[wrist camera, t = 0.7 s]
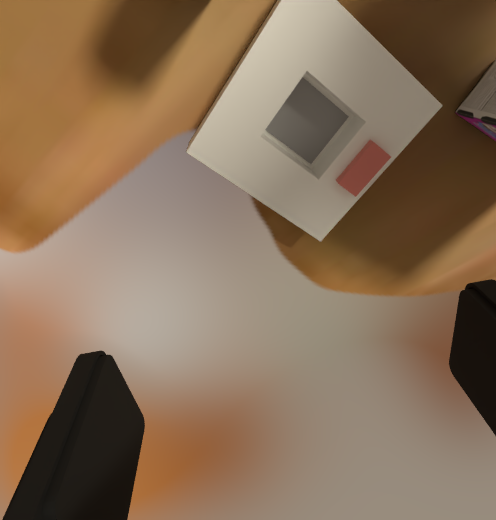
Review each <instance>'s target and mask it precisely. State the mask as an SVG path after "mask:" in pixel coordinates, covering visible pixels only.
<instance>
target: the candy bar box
mask: <svg viewBox="0 0 496 520" xmlns="http://www.w3.org/2000/svg"><path fill="white" fill-rule="evenodd" d="M455 113H456V114H457V115H459V116H460V117H462V118H463V119H464V120H466V121H467V122H469V123H470V124H472V125H473V126H475V127H476V128H477V129H479V130H480V131H482V132H483V133H485V134H486V135H487V136H489V137H490V138H492V139H493V140H495V141H496V60H495V61H494V62H493V63H492V65H491V66H490V67H489V68H488V69H487V71H486V72H485V73H484V75H483V76H482V78H481V79H480V81H479V82H478V83H477V85H476V86H475V87H474V89H473V90H472V91H471V92H470V93H469V95H468V96H467V97H466V98H465V100H464V101H463V102H462V104H461V105H460V106H459V108H458V109H457V110H456V112H455Z"/></svg>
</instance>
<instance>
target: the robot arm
mask: <svg viewBox="0 0 496 520" xmlns="http://www.w3.org/2000/svg"><path fill="white" fill-rule="evenodd" d="M449 365H450V369H451V372H452V374H453V375H454V377H455V379H456V380H457V381H458V383H459V384H460V386H461V387H462V388H463V390H464V391H465V393H466V394H467V396H468V397H469V398H470V400H471V401H472V403H473V404H474V406H475V407H476V408H477V410H478V411H479V413H480V414H481V415H482V417H483V418H484V420H485V421H486V423H487V424H488V425H489V427H490V428H491V430H492V431H493V433H494V434H495V435H496V281H495V280H492V279H491V280H485V281H480V282H474V283H469V284H467V286H466V288H465V290H462V291H461V292H460V296H459V302H458V308H457V314H456V321H455V327H454V333H453V341H452V347H451V353H450V359H449ZM144 424H145V423H144V417H143V415H142V413H141V411H140V409H139V407H138V405H137V403H136V401H135V399H134V397H133V395H132V393H131V391H130V390H129V388H128V386H127V384H126V382H125V380H124V378H123V376H122V374H121V372H120V370H119V368H118V366H117V364H116V362H115V361H114V359H113V357H112V356H111V355H106V354H105V352H103V351H96V352H91V353H85V354H80V355H79V356H78V358H77V359H76V361H75V363H74V366H73V368H72V370H71V373H70V375H69V377H68V379H67V381H66V384H65V386H64V388H63V390H62V392H61V395H60V397H59V399H58V401H57V404H56V406H55V408H54V410H53V413H52V414H51V415H50V417H49V418H48V420H47V422H46V424H45V427H44V429H43V431H42V433H41V435H40V438H39V440H38V442H37V444H36V447H35V449H34V451H33V453H32V455H31V458H30V460H29V462H28V464H27V467H26V469H25V471H24V473H23V475H22V477H21V480H20V482H19V484H18V486H17V489H16V491H15V493H14V495H13V497H12V500H11V502H10V504H9V506H8V508H7V511H6V513H5V515H4V517H3V520H127V518H128V513H129V507H130V502H131V497H132V492H133V486H134V481H135V476H136V471H137V466H138V460H139V455H140V450H141V445H142V439H143V434H144V427H145V425H144Z"/></svg>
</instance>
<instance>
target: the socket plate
mask: <svg viewBox="0 0 496 520" xmlns="http://www.w3.org/2000/svg"><path fill="white" fill-rule="evenodd" d="M442 106H443V105H442V104H441V103H440V102H439V101H438V100H437V99H436V98H435V97H434V96H433V95H432V94H431V93H430V92H429V91H428V90H427V89H426V88H425V87H424V86H423V85H422V84H421V83H420V82H419V81H418V80H417V79H416V78H415V77H414V76H413V75H412V74H411V73H410V72H409V71H408V70H407V69H405V68H404V67H403V66H402V65H401V64H400V63H399V62H398V61H397V60H396V59H395V58H394V57H393V56H392V55H391V54H390V53H389V52H388V51H387V50H386V49H385V48H384V47H383V46H382V45H381V44H380V43H379V42H378V41H377V40H376V39H375V38H374V37H373V36H372V35H371V34H370V33H369V32H368V31H367V30H366V29H365V28H364V27H363V26H362V25H361V24H360V23H359V22H358V21H357V20H356V19H355V18H354V17H353V16H352V15H351V14H350V13H349V12H348V11H347V10H346V9H345V8H344V7H343V6H342V5H341V4H340V3H339V2H338V1H337V0H277V2H276V3H275V5H274V7H273V8H272V10H271V11H270V13H269V15H268V16H267V18H266V19H265V21H264V23H263V24H262V26H261V28H260V29H259V31H258V32H257V34H256V36H255V37H254V39H253V40H252V42H251V44H250V45H249V47H248V48H247V50H246V52H245V53H244V55H243V56H242V58H241V60H240V61H239V63H238V64H237V66H236V68H235V69H234V71H233V73H232V74H231V76H230V77H229V79H228V81H227V82H226V84H225V85H224V87H223V89H222V90H221V92H220V93H219V95H218V97H217V98H216V100H215V101H214V103H213V105H212V106H211V108H210V110H209V111H208V113H207V114H206V116H205V118H204V119H203V121H202V122H201V124H200V126H199V127H198V129H197V130H196V132H195V134H194V135H193V137H192V139H191V140H190V142H189V145H188V148H187V151H186V153H188V154H189V155H191V156H192V157H194V158H195V159H197V160H198V161H200V162H201V163H203V164H205V165H206V166H207V167H209V168H210V169H212V170H213V171H215V172H216V173H218V174H219V175H221V176H222V177H224V178H226V179H227V180H229V181H230V182H231V183H233V184H235V185H236V186H238V187H239V188H241V189H242V190H244V191H245V192H247V193H248V194H250V195H251V196H253V197H254V198H256V199H257V200H259V201H260V202H262V203H263V204H265V205H266V206H268V207H269V208H271V209H272V210H274V211H275V212H277V213H278V214H280V215H281V216H283V217H284V218H286V219H287V220H289V221H290V222H292V223H293V224H295V225H296V226H298V227H299V228H301V229H302V230H304V231H305V232H307V233H308V234H310V235H311V236H313V237H314V238H316V239H317V240H319V241H320V242H321V241H322V240H323V238H324V237H325V236H326V235H327V234H328V233H329V232H330V231H331V230H332V228H333V227H334V226H335V225H336V224H337V223H338V222H339V221H340V220H341V218H342V217H343V216H344V215H345V214H346V213H347V212H348V211H349V210H350V208H351V207H352V206H353V205H354V204H355V203H356V202H357V201H358V200H359V198H360V197H361V196H362V195H363V194H364V193H365V192H366V191H367V189H368V188H369V187H370V186H371V185H372V184H373V183H374V182H375V181H376V179H377V178H378V177H379V176H380V175H381V174H382V173H383V172H384V171H385V169H386V168H387V167H388V166H389V165H390V164H391V163H392V162H393V161H394V159H395V158H396V157H397V156H398V155H399V154H400V153H401V152H402V151H403V149H404V148H405V147H406V146H407V145H408V144H409V143H410V142H411V141H412V139H413V138H414V137H415V136H416V135H417V134H418V133H419V132H420V131H421V129H422V128H423V127H424V126H425V125H426V124H427V123H428V122H429V120H430V119H431V118H432V117H433V116H434V115H435V114H436V113H437V112H438V110H439V109H440V108H441V107H442Z"/></svg>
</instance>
